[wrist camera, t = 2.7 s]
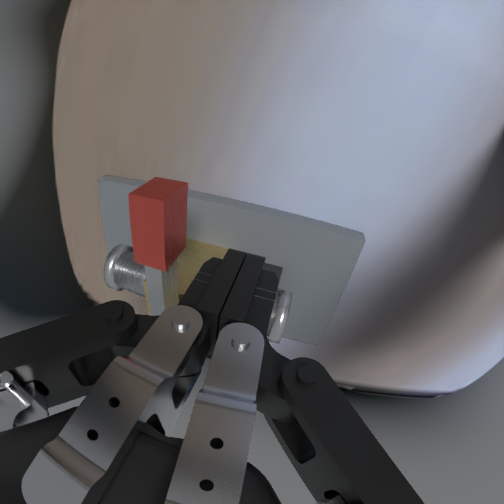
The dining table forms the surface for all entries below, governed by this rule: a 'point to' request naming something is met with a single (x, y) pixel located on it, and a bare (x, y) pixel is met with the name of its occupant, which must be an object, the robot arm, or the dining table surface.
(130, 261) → the valve pipe
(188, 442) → the robot arm
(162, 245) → the lever
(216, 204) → the slate board
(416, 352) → the dining table surface
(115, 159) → the dining table surface
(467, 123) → the dining table surface
